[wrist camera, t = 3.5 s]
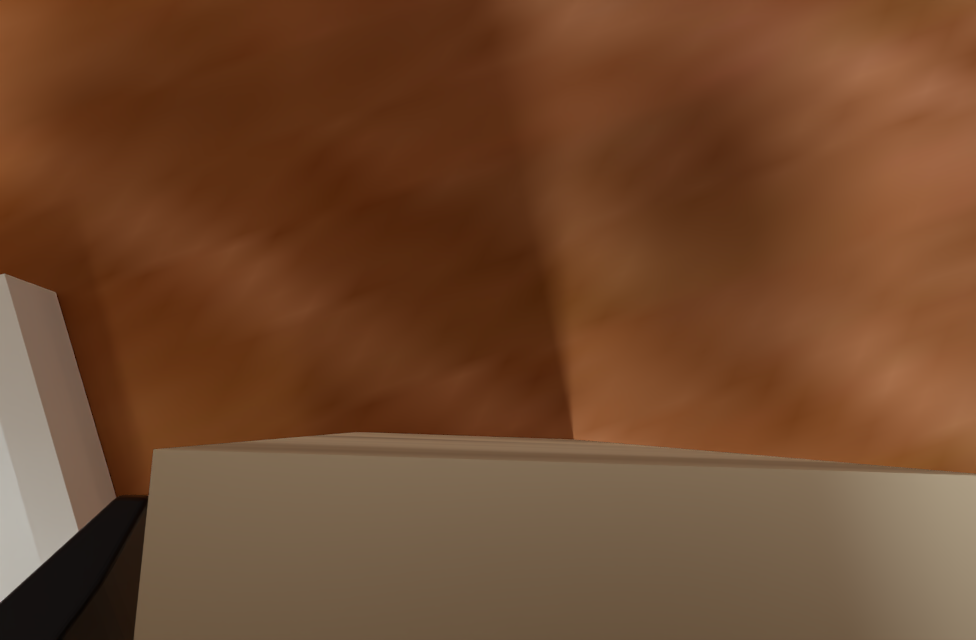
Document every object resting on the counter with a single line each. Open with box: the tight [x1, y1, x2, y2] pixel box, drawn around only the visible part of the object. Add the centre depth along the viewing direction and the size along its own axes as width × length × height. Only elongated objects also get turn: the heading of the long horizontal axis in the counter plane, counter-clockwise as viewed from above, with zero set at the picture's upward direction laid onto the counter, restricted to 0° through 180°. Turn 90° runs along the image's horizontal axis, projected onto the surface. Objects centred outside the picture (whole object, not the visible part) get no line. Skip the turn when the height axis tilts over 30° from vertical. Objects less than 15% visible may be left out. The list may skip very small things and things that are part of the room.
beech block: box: [134, 432, 976, 640], centre depth 10 cm, size 5×5×13 cm
